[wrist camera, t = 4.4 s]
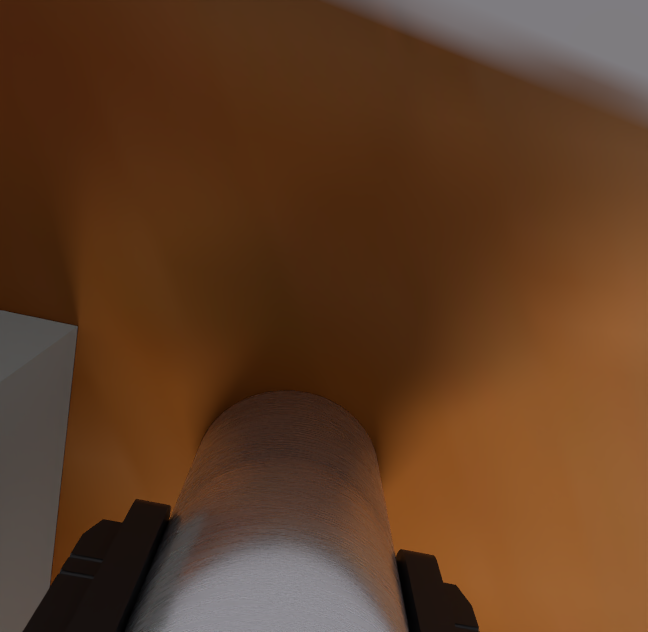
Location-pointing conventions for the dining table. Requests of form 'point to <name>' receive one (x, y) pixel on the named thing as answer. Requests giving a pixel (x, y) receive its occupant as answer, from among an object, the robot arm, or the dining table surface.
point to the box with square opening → (31, 456)
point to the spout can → (277, 528)
